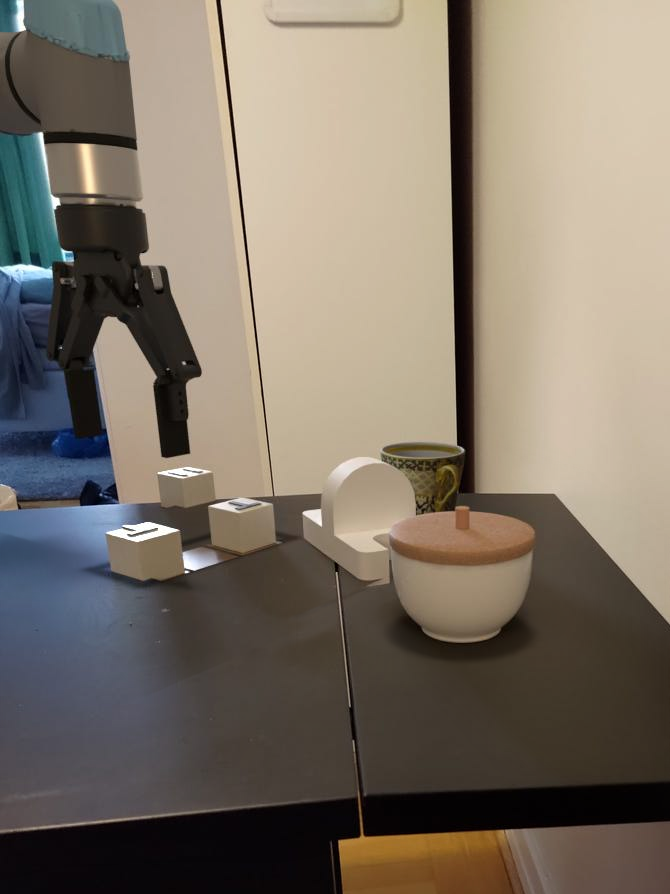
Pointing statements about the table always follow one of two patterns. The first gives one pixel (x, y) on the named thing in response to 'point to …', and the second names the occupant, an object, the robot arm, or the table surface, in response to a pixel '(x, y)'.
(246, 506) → the tile
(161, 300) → the robot arm
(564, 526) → the table surface
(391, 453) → the ceramic cup
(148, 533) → the tile
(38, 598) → the table surface
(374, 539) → the u-slot stand
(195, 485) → the tile middle
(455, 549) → the lidded bowl
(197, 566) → the word board
